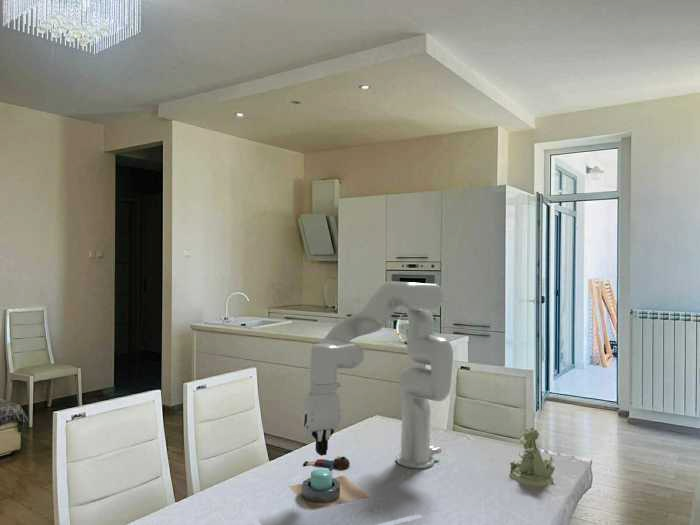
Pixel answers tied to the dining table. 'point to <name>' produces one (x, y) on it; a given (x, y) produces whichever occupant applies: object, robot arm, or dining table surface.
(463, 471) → the dining table surface
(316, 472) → the teal rounded tetrahedron
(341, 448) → the dining table surface
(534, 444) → the figurine
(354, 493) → the board
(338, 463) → the toy
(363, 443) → the dining table surface
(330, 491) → the faceted gray ring
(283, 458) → the dining table surface
